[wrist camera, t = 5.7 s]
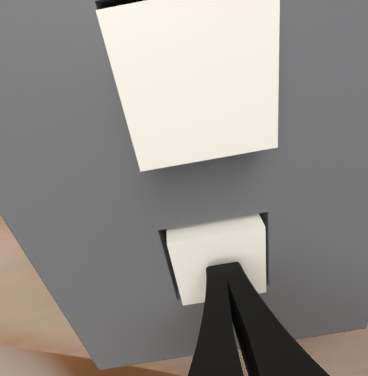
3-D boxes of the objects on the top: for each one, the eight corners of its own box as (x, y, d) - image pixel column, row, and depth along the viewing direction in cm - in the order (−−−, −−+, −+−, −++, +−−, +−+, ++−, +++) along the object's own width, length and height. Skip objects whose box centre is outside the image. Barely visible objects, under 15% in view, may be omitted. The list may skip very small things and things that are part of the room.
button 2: (248, 193, 13) (265, 227, 11) (251, 254, 15) (266, 292, 13) (166, 208, 13) (166, 244, 11) (180, 266, 15) (182, 305, 13)
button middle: (248, -14, 8) (280, -26, 6) (253, 120, 10) (277, 147, 8) (113, 12, 8) (95, 10, 6) (145, 140, 10) (140, 171, 8)
